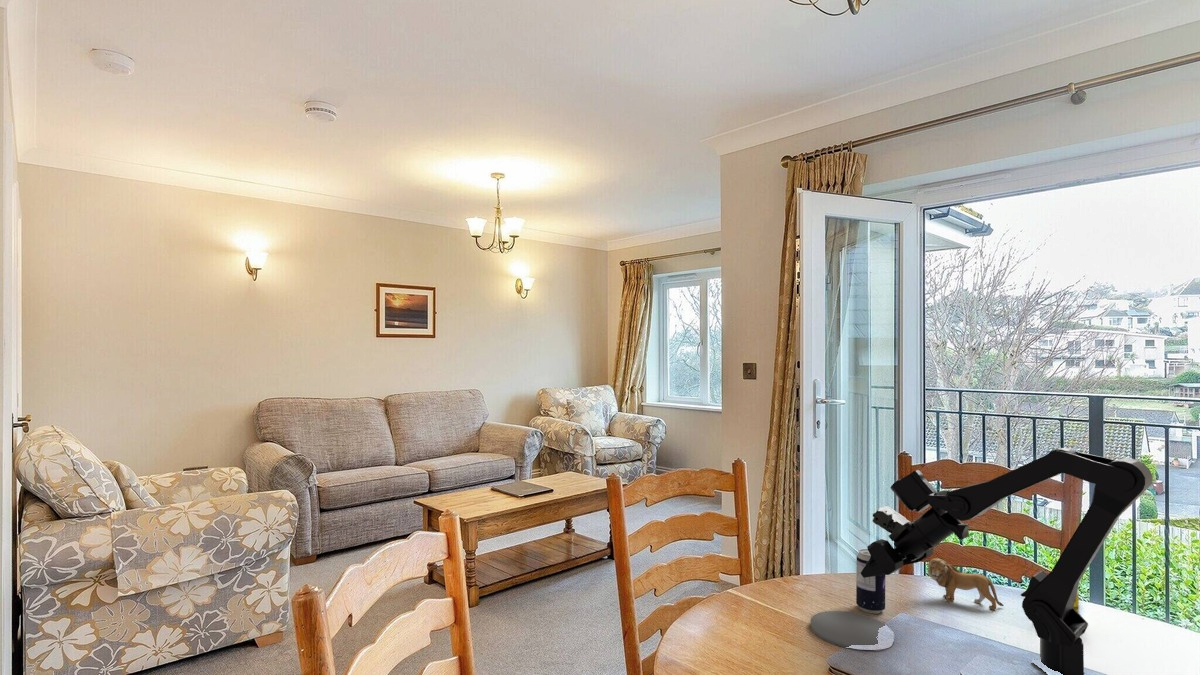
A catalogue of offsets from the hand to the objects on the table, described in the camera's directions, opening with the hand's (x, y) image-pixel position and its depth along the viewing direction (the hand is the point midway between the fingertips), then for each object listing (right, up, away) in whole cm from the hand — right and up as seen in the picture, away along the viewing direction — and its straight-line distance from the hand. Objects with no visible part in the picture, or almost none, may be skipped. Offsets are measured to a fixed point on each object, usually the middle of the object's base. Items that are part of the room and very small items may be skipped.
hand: (872, 570), depth 130 cm
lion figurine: (+22, -9, +5) cm, 25 cm away
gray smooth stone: (-10, -7, -12) cm, 17 cm away
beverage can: (0, -8, 0) cm, 8 cm away
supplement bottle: (+37, -9, -4) cm, 39 cm away
